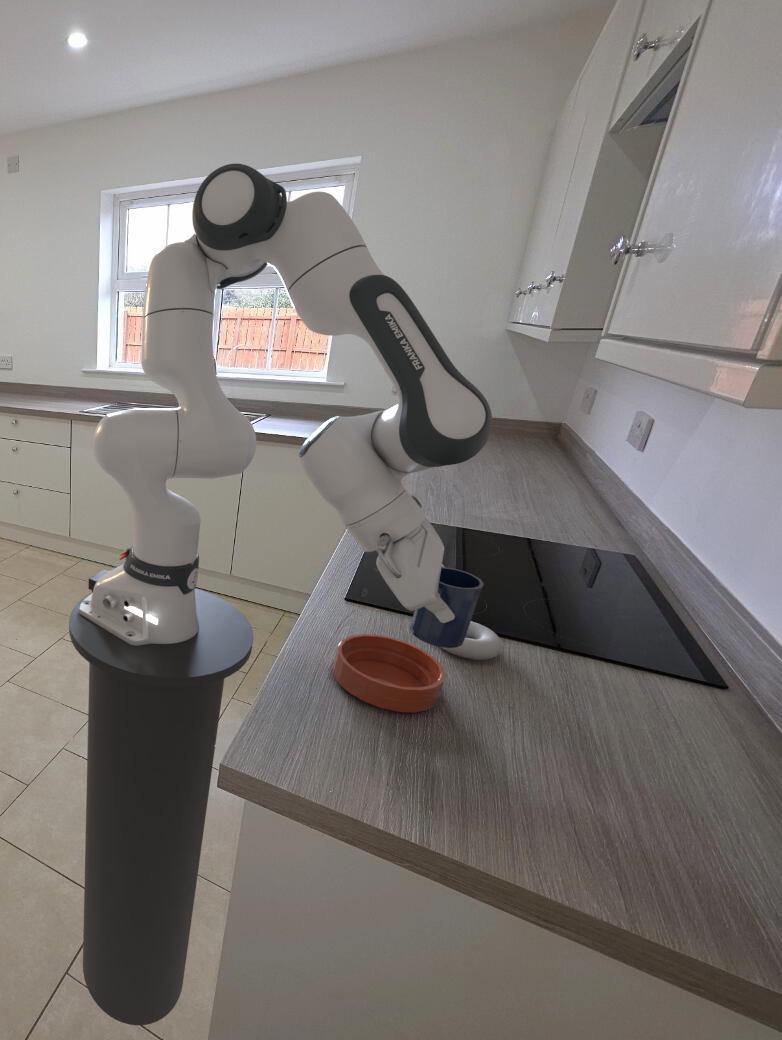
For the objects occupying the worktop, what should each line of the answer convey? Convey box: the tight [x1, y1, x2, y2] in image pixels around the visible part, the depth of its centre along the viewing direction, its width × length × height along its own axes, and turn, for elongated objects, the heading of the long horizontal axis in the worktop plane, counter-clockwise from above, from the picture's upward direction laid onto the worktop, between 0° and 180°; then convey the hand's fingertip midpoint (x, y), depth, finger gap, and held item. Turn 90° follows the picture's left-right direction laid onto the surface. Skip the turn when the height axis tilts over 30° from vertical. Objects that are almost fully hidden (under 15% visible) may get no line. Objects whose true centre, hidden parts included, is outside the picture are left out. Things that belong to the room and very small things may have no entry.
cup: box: [409, 566, 485, 648], centre depth 77 cm, size 6×6×9 cm
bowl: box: [332, 633, 447, 713], centre depth 85 cm, size 14×14×4 cm
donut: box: [440, 620, 503, 661], centre depth 95 cm, size 10×4×10 cm
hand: (450, 606), depth 76 cm, fingers closed on cup, 6 cm apart
